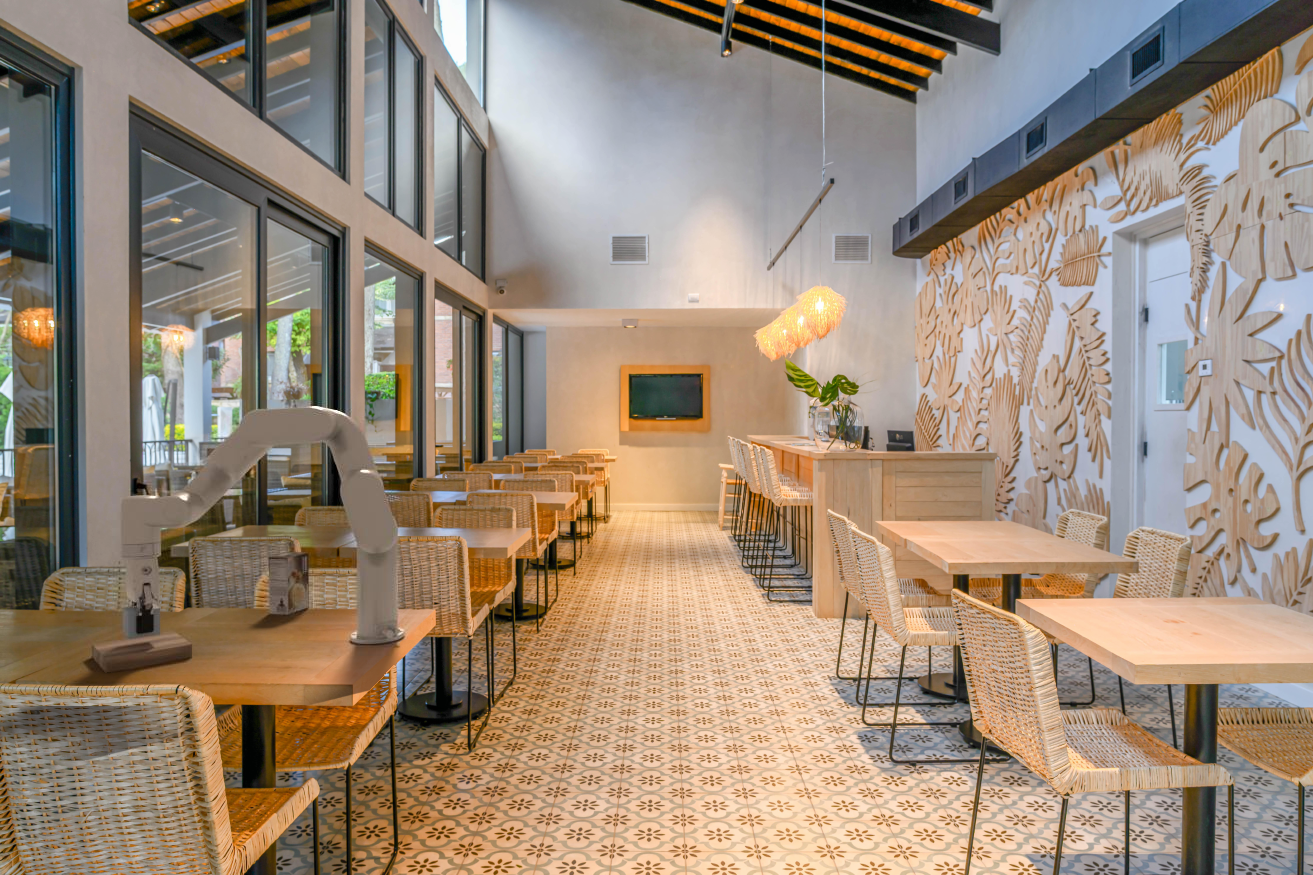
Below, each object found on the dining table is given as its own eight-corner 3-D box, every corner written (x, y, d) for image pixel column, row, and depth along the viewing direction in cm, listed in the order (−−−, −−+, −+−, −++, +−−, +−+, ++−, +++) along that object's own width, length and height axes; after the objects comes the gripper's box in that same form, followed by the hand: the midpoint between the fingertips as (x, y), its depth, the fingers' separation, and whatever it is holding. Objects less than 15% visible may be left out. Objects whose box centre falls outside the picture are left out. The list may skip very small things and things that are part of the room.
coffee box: (290, 606, 224) (289, 551, 224) (309, 607, 223) (309, 552, 223) (268, 614, 215) (267, 556, 215) (288, 615, 214) (288, 557, 214)
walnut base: (192, 657, 175) (191, 644, 174) (106, 673, 163) (106, 659, 163) (173, 643, 186) (173, 630, 186) (92, 657, 175) (92, 644, 175)
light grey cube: (160, 634, 174) (160, 607, 174) (128, 639, 170) (128, 612, 170) (153, 629, 179) (153, 603, 179) (122, 634, 174) (122, 607, 174)
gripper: (170, 552, 171) (170, 634, 171) (151, 544, 183) (151, 620, 183) (129, 556, 165) (130, 640, 166) (113, 547, 178) (113, 625, 178)
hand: (141, 629), depth 174 cm, fingers closed on light grey cube, 6 cm apart
